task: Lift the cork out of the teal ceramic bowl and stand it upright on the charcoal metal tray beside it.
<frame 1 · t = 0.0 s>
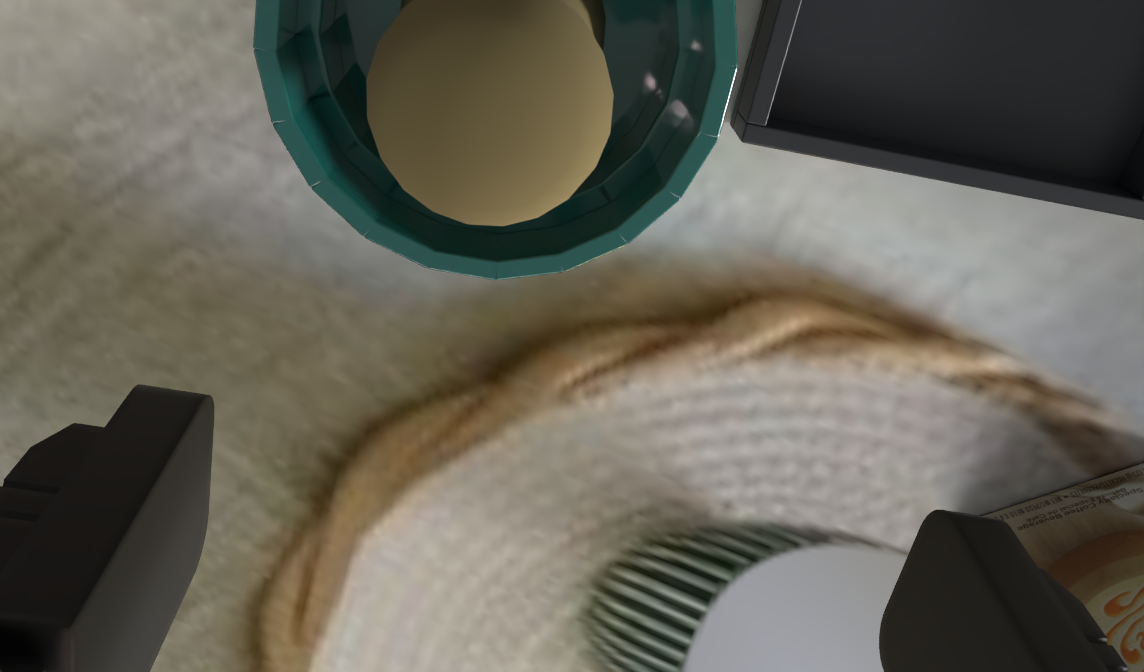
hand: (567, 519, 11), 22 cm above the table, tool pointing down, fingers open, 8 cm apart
cork: (503, 27, 30), resting on bowl
coffee box: (1073, 543, 40), on the table
bowl: (503, 26, 31), on the table
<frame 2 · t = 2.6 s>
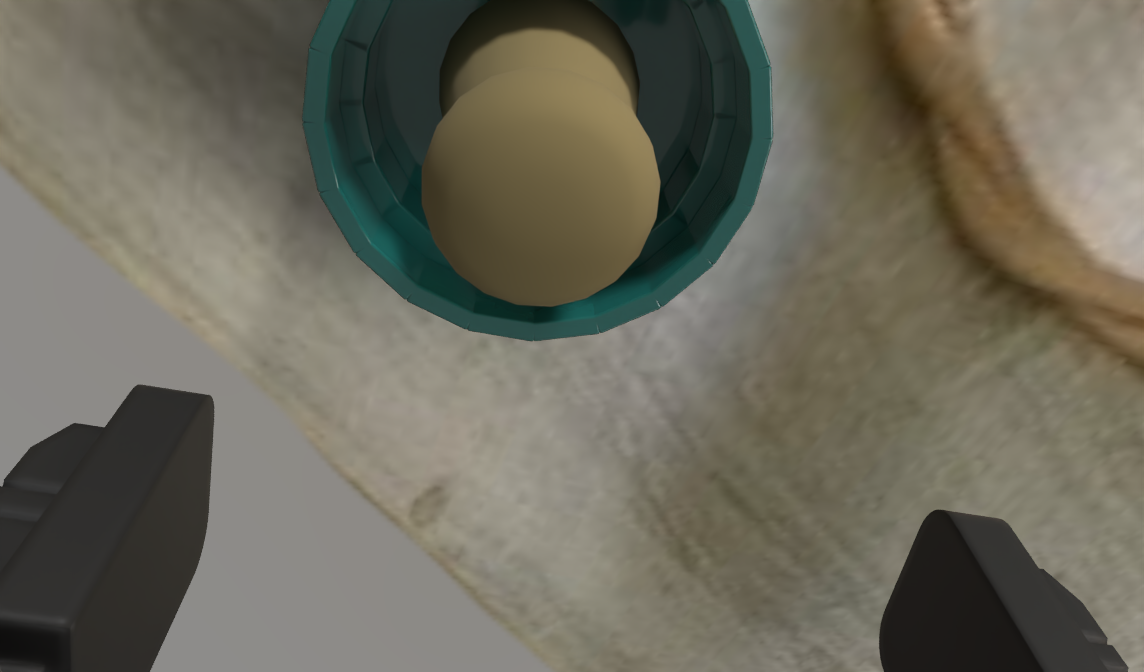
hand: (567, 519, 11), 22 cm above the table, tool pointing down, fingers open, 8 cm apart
cork: (539, 91, 31), resting on bowl
bowl: (539, 89, 31), on the table
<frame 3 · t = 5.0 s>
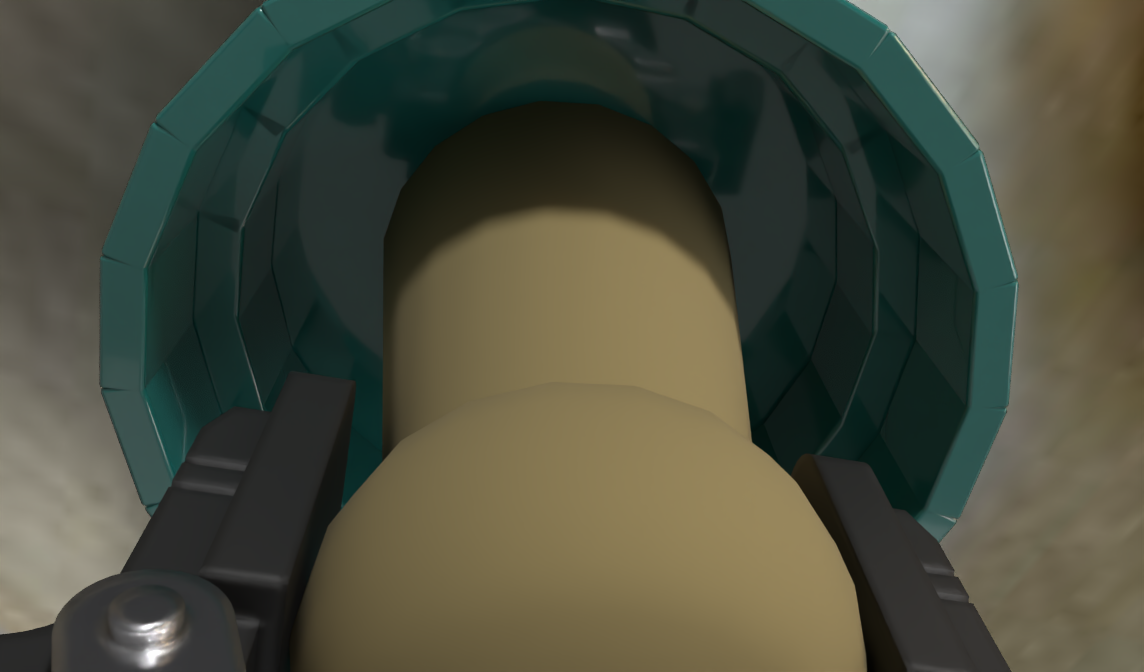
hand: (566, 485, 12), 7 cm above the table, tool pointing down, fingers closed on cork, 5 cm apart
cork: (557, 269, 18), resting on bowl, touching gripper
bowl: (556, 264, 18), on the table
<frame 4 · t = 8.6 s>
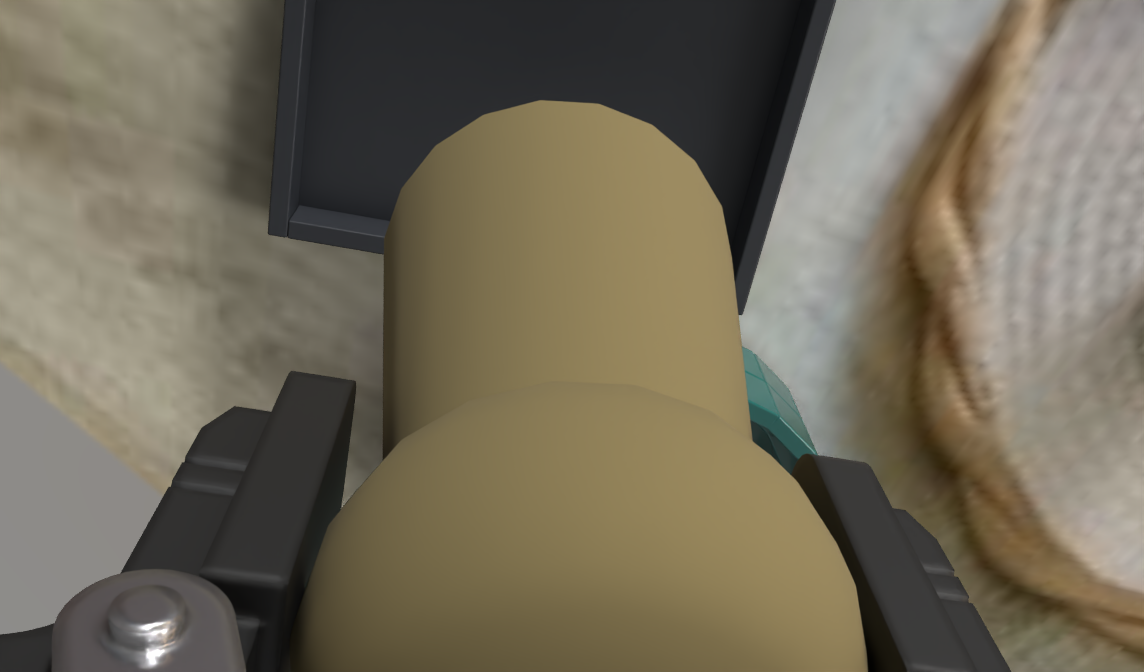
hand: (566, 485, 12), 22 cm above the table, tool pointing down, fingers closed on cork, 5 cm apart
cork: (557, 269, 18), point 15 cm above the table, touching gripper
bowl: (638, 464, 38), on the table
tray: (549, 55, 31), on the table
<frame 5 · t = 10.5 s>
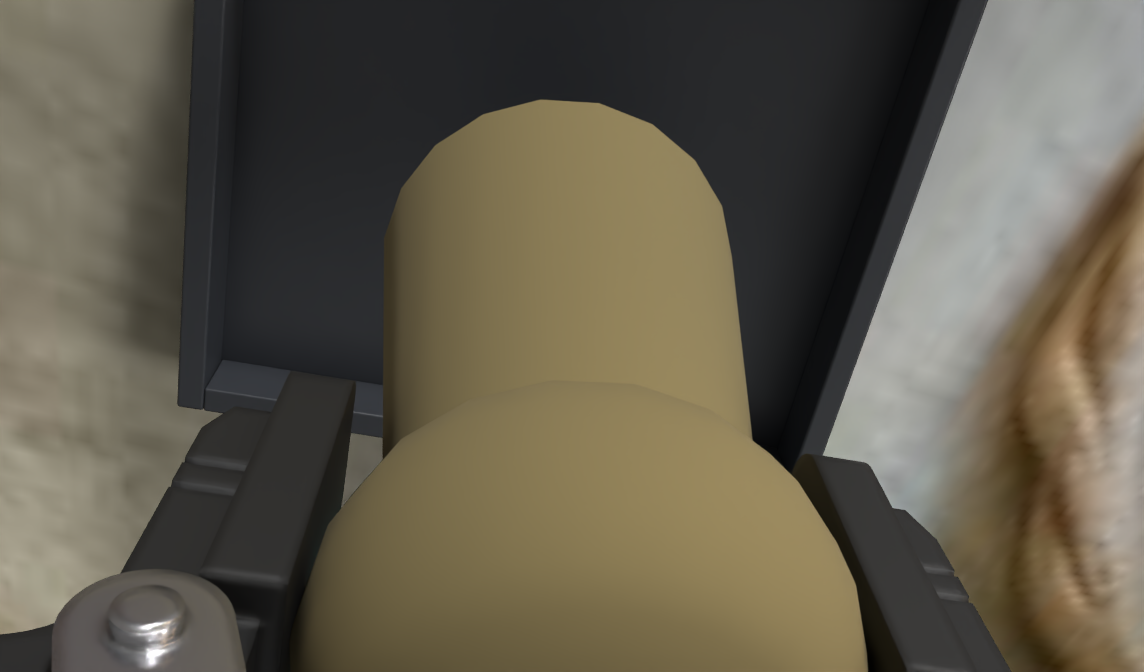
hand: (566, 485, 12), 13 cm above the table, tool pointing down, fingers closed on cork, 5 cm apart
cork: (557, 268, 18), point 6 cm above the table, touching gripper
tray: (554, 169, 24), on the table
when the fingers open (7 cm above the table, at t = 12.3 s): cork stays where it is, resting on tray.
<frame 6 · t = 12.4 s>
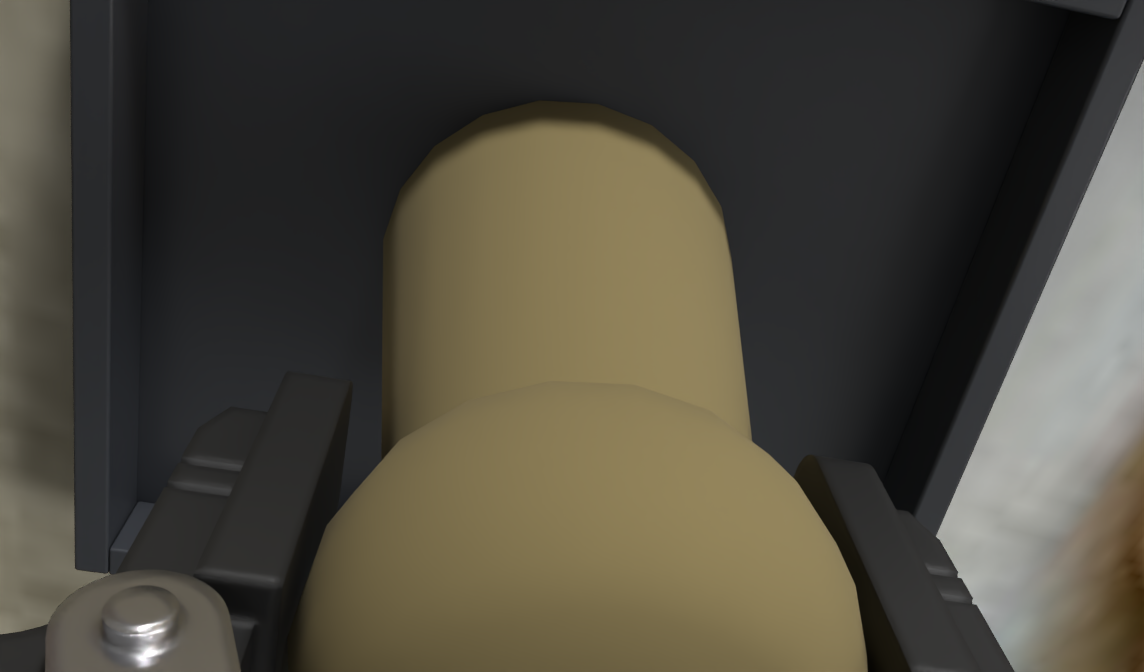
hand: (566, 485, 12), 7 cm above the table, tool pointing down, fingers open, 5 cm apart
cork: (557, 269, 18), resting on tray
tray: (558, 266, 18), on the table
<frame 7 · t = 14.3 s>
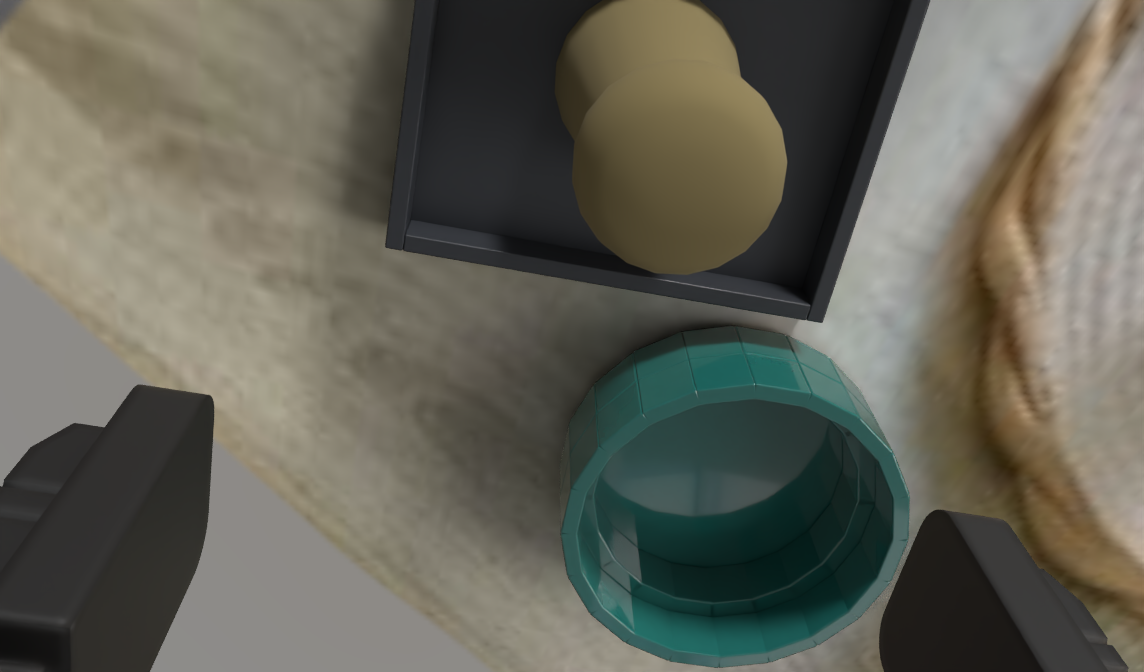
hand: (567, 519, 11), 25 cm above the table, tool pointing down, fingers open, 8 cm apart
cork: (646, 81, 34), resting on tray
bowl: (716, 461, 41), on the table
tray: (646, 81, 34), on the table
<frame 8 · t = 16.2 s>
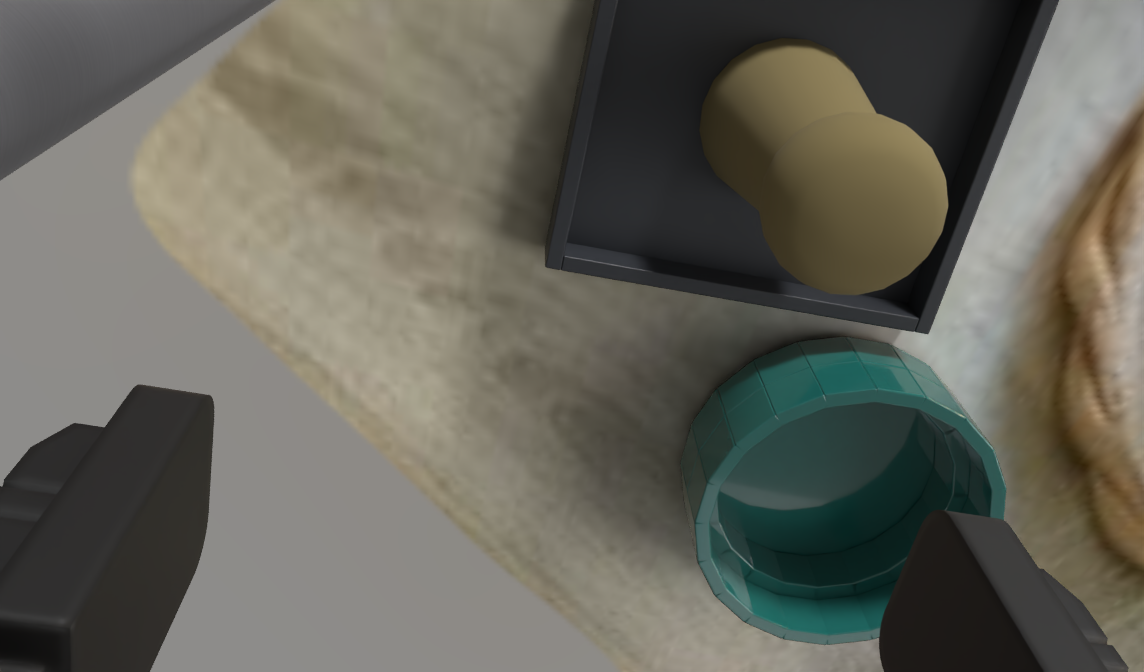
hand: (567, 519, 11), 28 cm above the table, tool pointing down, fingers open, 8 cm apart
cork: (780, 120, 38), resting on tray
bowl: (819, 458, 45), on the table
tray: (779, 120, 38), on the table
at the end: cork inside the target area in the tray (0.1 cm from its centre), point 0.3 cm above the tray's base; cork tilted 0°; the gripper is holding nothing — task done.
